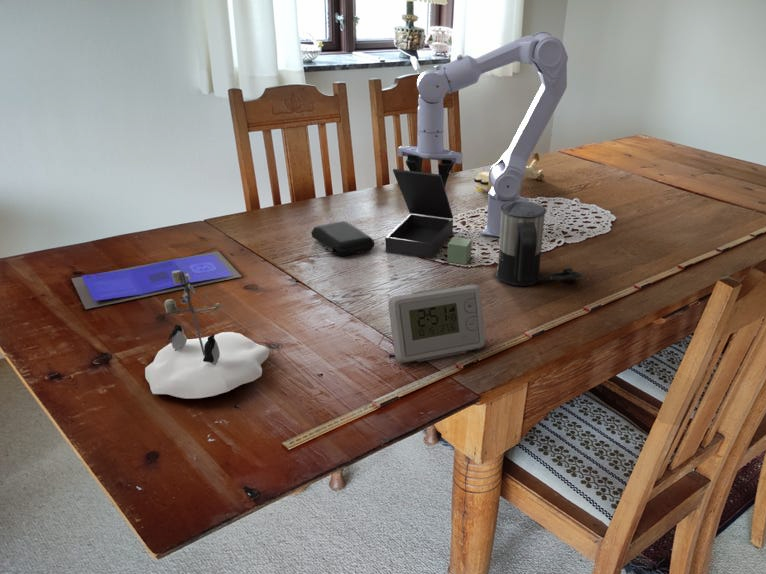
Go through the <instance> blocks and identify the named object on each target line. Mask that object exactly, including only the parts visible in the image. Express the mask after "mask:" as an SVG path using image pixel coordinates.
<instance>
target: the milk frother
mask: <svg viewBox="0 0 766 574" xmlns="http://www.w3.org/2000/svg"><path fill="white" fill-rule="evenodd" d="M500 209H501V211H502V212H501V227H500V237H499V246H498V247H499V248H498V261H497V262H498V263H497V271H496V273H495V277H496V278H497V280H499V281H500V282H502V283H504V284H508V285H511V286H513V285H514V286H531V285H534V284H537V283H539V281H540V282H541V281H542V282H543V281H544V282H546V281H548V282H549V281H555V282H556V281H564V282H572V281H573V280H575V279H579V278H581V277H582V273H581V272H577V271H573V268H571V267H569V268H564V269H563V270H562V271H561V272H559V271H558V272H552V273H550V274H548V275H546V276H543V277H542V276H541V273H540V272H541V255H542V247H543V246H542V244H543V235H544V228H545V227H544V225H545V216H546V213H547V208H546V207H544V205H541V204H538V203H535V202H531V201H528V202H508V203H505V204H503V205H502V206H501V207H500Z"/></svg>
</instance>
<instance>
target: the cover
mask: <svg viewBox="0 0 766 574" xmlns="http://www.w3.org/2000/svg"><path fill="white" fill-rule="evenodd" d="M392 173H393V174H394V177H395V180H396V182H397V185H398V187H399V189H400V192H401V195H402V197H403V200H404V202H405V205H406V208H407V210H408V213H409V214H416V215H424V216H431V217H438V218H446V219H453V220H454V215H453V212H452V208H451V205H450V201H449V198H448V194H447V191H446V186H445V187H444V184H443V181H442V177H441V175H439V173H430V172H422V171H421V172H415V171H410V170H407V169H406V170H405V169H399V168H393V169H392Z"/></svg>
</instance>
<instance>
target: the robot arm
mask: <svg viewBox="0 0 766 574" xmlns="http://www.w3.org/2000/svg"><path fill="white" fill-rule="evenodd" d="M568 60H569V56H568V54H567V50H566V47H565V45H564V43H563V42H562V41H561V39H559V38H558V37H556V36H553V35H552V34H551V33H549V32H548V31H538V32H536V33H534V34H529V35H525V36H523V37H520V38H518V39H515V40H513V41H510V42H508V43H506V44H504V45H502V46H500V47H498V48H495V49H493V50H491V51H489V52H487V53H485V54H483V55H481V56H478V57H476V58H474V57H473V56H470V55H464V56H463V54H461V53H460V54H458V55H456V56H455V59H454V60H452V61H450V62H447V63H445V64H443V65H440V64H436V65H435V66H434V69H426V70H424V71H422V72H421V73H420V75H419V76H418V77H417V81H416V89H417V91H418V99H417V104H418V106H417V146H413V145H412V146H410V145H400V146H398V148H397V156H398V157H401V158H404V157H407V158H406V160H405V164H406V166H407V169H408V171H415V172H422V170H423V169H422V168H423V160H432V161H433V160H434V161H440V162H439V163H437V169H438V174H439V175H441V177H442V181H443V184H444V187H445V188H446V184H447V182H448V179H449V176H450V174H451V171H452V169H453V167H454V165H455V164H458V165H461V164H462V163H463V161H464V153H463V152H458V151H454V150H450V149H445V148H444V140H445V139H444V137H445V136H444V133H445V108H444V98H445V97H446V94H449V95H451V94H453V93H455V92H458V91H460V90H462V89H466V88H468V87H470V86H472V85H475V84H477V83H478V82H479V79H480V77H481V76H482V74H485V73H488V72H491V71H494V70H496V69H499V68H501V67H504V66H508V65H510V64H514V63H516V62H519V63H522V64H523V63H524V64H527V65H533V64H534V66H535V67H536V69H537V73H538V77H539V80H540V83H541V85H540V87H539V89H538V90H537V93H536V95H535V97H534V99H533V101H532V103H531V104H530V107H529V108H528V110H527V112H526V114H525V116H524V117H523V120H522V122H521V124H520V125H519V127H518V129H517V132H516V134H515V135H514V136H513V138H512V141H511V142H510V145H509V147H508V149H507V150H505V151H504V153H502V155H501V156H500V158H499V159H498V161H497V162H495V163H494V164H493V165H492V166H491V167H490V168H489V171H488V172H489V179H490V182H491V183H492V185H493V186H492V188H491V190H490V191H488V194H487V195H488V196H487V214H486V216H487V217H486V226H485V227H484V229H483V230H482V231H481V235H483V236H489V237H498V238H500V227H501V212H502V211H501V209H500V207H501V206H502V205H503V204H505V203H508V202H529V198H528V197H524V196H521V195H520V192H521V190H522V183H523V176H524V174H525V171H526V166H527V164H528V161H529V159H530V158H531V156H532V153H533V152H534V150H535V148H536V146H537V144H538V142H539V141H540V138H541V137H542V134H543V133H544V131H545V129H546V127H547V125H548V124H549V122H550V121H551V118H552V116H553V114H554V112H555V111H556V109H557V107H558V105H559V103H560V101H561V99H562V97H563V96H564V94H565V92H566V90H567V88H568V87H567V86H568Z"/></svg>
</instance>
